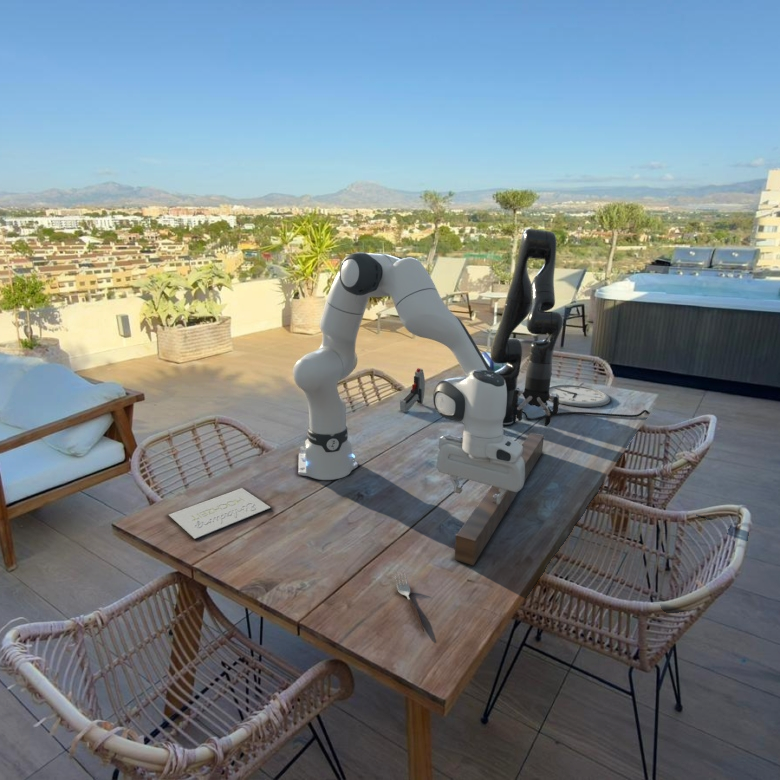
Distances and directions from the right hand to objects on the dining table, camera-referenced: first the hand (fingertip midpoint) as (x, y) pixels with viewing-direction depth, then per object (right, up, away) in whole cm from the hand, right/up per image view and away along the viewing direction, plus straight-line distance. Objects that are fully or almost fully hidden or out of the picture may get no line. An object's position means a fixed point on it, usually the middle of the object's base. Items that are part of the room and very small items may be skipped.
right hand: (532, 422), depth 169 cm
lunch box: (-1, +6, +65) cm, 65 cm away
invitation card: (-91, -22, -31) cm, 99 cm away
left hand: (-26, -14, -47) cm, 56 cm away
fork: (-42, -33, -64) cm, 83 cm away
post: (-13, -20, -19) cm, 30 cm away
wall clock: (+39, +8, +71) cm, 81 cm away
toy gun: (-37, +3, +52) cm, 64 cm away
